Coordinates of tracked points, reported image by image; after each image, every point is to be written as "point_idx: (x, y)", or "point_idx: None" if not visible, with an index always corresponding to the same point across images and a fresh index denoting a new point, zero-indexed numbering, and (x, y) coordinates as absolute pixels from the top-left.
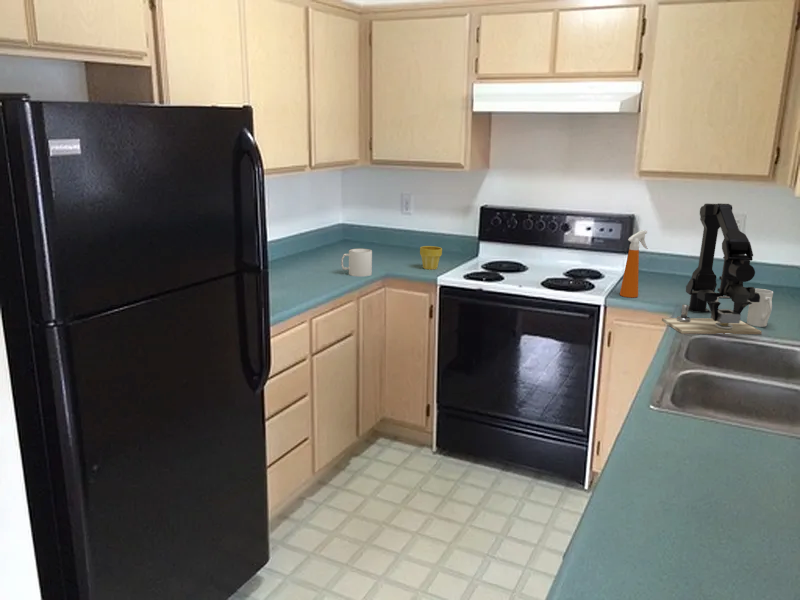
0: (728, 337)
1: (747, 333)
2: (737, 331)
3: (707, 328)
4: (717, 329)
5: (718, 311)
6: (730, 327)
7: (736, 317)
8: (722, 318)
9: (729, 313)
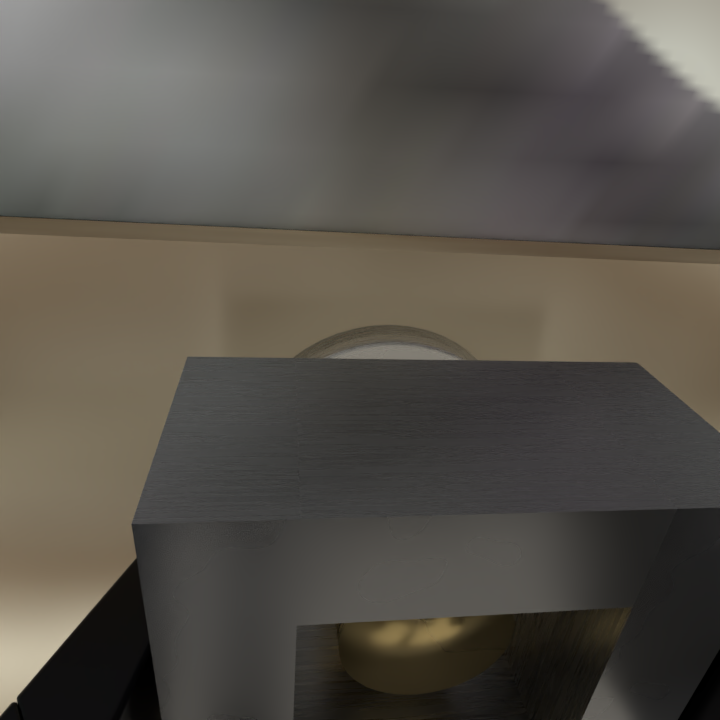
0: (559, 17)
1: (41, 223)
2: (251, 241)
3: (672, 391)
4: (559, 342)
5: (635, 711)
6: (348, 350)
7: (288, 445)
8: (680, 421)
9: (486, 590)
